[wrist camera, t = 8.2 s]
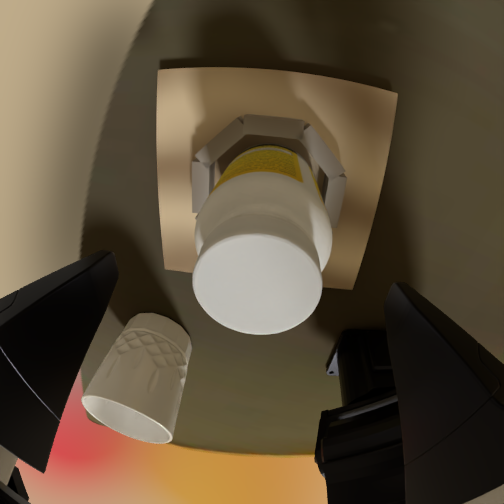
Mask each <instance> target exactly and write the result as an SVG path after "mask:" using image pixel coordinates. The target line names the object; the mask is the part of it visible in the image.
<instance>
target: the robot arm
mask: <svg viewBox="0 0 504 504" xmlns="http://www.w3.org/2000/svg"><path fill="white" fill-rule="evenodd" d="M118 275H119V273H118V268H117V263H116V258H115V254H114V253H113V252H112V251H107V250H101V251H99V252H97V253H94V254H92V255H90V256H88V257H85V258H83V259H81V260H79V261H76V262H74V263H72V264H70V265H68V266H66V267H64V268H61V269H59V270H57V271H55V272H53V273H51V274H49V275H47V276H45V277H43V278H41V279H39V280H37V281H34V282H32V283H30V284H28V285H26V286H24V287H23V288H21V289H19V290H17V291H15V292H13V293H11V294H9V295H7V296H5V297H3V298H1V299H0V504H31V503H29V502H28V500H29V497H28V494H27V492H26V489H25V486H24V484H23V481H22V478H21V475H20V472H19V469H18V468H17V467H16V466H15V464H16V461H17V459H18V458H19V459H21V460H22V461H24V462H25V463H27V464H29V465H30V466H32V467H33V468H35V469H36V470H38V471H40V472H42V473H44V472H45V470H46V466H47V462H48V459H49V455H50V452H51V448H52V445H53V442H54V438H55V435H56V432H57V429H58V426H59V423H60V421H59V420H61V417H62V413H63V411H64V408H65V405H66V403H67V400H68V397H69V395H70V392H71V389H72V387H73V384H74V382H75V379H76V377H77V374H78V372H79V370H80V367H81V365H82V362H83V360H84V358H85V355H86V353H87V351H88V349H89V346H90V344H91V342H92V340H93V338H94V335H95V333H96V331H97V329H98V327H99V325H100V323H101V321H102V318H103V316H104V314H105V311H106V309H107V306H108V303H109V301H110V298H111V295H112V293H113V290H114V288H115V285H116V283H117V280H118ZM384 314H385V322H386V330H387V331H376V330H352V329H347V330H345V331H343V332H342V334H341V337H340V339H339V342H338V344H337V346H336V349H335V351H334V354H333V356H332V358H331V360H330V363H329V365H328V367H327V369H326V372H327V375H335V376H339V380H340V388H341V397H342V406H343V407H339V408H336V409H332V410H325V411H322V412H321V419H320V422H319V429H318V436H317V442H316V449H315V458H314V459H315V462H316V463H317V464H318V468H319V471H320V472H321V474H322V476H323V477H325V480H326V486H327V498H328V504H504V364H503V363H502V362H500V361H499V360H498V359H497V358H496V357H494V356H493V355H492V354H491V353H490V352H489V351H488V350H486V349H485V348H484V347H483V346H482V345H481V344H480V343H478V342H477V341H476V340H475V339H474V338H473V337H472V336H470V335H469V334H468V333H467V332H466V331H465V330H463V329H462V328H461V327H460V326H459V325H458V324H456V323H455V322H454V321H453V320H452V319H450V318H449V317H448V316H447V315H446V314H444V313H443V312H442V311H441V310H439V309H438V308H437V307H436V306H434V305H433V304H432V303H431V302H429V301H428V300H427V299H426V298H424V297H423V296H422V295H421V294H419V293H418V292H417V291H415V290H414V289H413V288H412V287H410V286H409V285H408V284H406V283H404V282H394V283H393V284H392V286H391V288H390V290H389V293H388V295H387V297H386V300H385V303H384Z"/></svg>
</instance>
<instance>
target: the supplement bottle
mask: <svg viewBox="0 0 504 504" xmlns="http://www.w3.org/2000/svg"><path fill="white" fill-rule="evenodd" d="M194 236H195V246H196V250H197V254H198V258H197V261H196V263H195V266H194V269H193V276H192V282H193V289H194V292H195V296H196V298H197V300H198V302H199V303H200V305H201V306H202V308H203V309H204V310H205V311H206V312H207V313H208V314H209V315H210V316H211V317H212V318H213V319H215V320H216V321H217V322H219V323H220V324H222V325H224V326H226V327H228V328H230V329H233V330H236V331H239V332H243V333H248V334H256V335H262V334H274V333H279V332H283V331H286V330H288V329H291V328H293V327H295V326H297V325H298V324H300V323H301V322H303V321H304V320H306V319H307V318H308V317H309V316H310V315H311V314H312V312H313V311H314V310H315V308H316V306H317V304H318V302H319V300H320V297H321V293H322V274H321V272H322V271H323V269H324V268H325V266H326V264H327V262H328V259H329V257H330V253H331V248H332V228H331V224H330V219H329V216H328V213H327V210H326V207H325V205H324V202H323V199H322V196H321V194H320V190H319V188H318V185H317V182H316V180H315V177H314V174H313V172H312V170H311V168H310V166H309V165H308V163H307V162H306V161H305V159H304V158H303V157H302V156H301V155H300V154H299V153H297V152H296V151H294V150H292V149H291V148H289V147H286V146H283V145H280V144H274V143H264V144H258V145H254V146H252V147H249V148H247V149H245V150H244V151H242V152H241V153H240V154H238V155H237V156H236V157H235V158H234V159H233V160H232V162H231V163H230V164H229V166H228V167H227V169H226V170H225V171H224V173H223V174H222V176H221V178H220V179H219V181H218V182H217V184H216V185H215V187H214V188H213V190H212V192H211V193H210V195H209V196H208V198H207V199H206V201H205V202H204V204H203V206H202V208H201V210H200V212H199V215H198V217H197V221H196V226H195V234H194Z"/></svg>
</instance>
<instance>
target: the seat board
mask: <svg viewBox="0 0 504 504" xmlns="http://www.w3.org/2000/svg"><path fill="white" fill-rule="evenodd" d="M397 97H398V93H394V92H391V91H387V90H384V89H380V88H376V87H372V86H368V85H364V84H360V83H356V82H351V81H346V80H341V79H336V78H331V77H325V76H319V75H313V74H306V73H298V72H290V71H281V70H270V69H256V68H234V67H200V68H177V69H164V70H158V84H157V172H158V194H159V210H160V223H161V235H162V245H163V255H164V264H165V269H168V270H175V271H183V272H191V273H193V269H194V266H195V263H196V261H197V258H198V254H197V250H196V246H195V236H194V234H195V226H196V221H197V217H198V215H199V212H200V210H201V208H202V206H203V204H204V202H205V201H206V199H207V198H208V196H209V195H210V193H211V192H212V190H213V188H214V187H215V185H216V184H217V182H218V181H219V179H220V178H221V176H222V174H223V173H224V171H225V170H226V169H227V167H228V166H229V164H230V163H231V162H232V160H233V159H234V158H235V157H236V156H237V155H238V154H240V153H241V152H242V151H244V150H245V149H247V148H249V147H252V146H254V145H258V144H264V143H274V144H280V145H283V146H286V147H289V148H291V149H292V150H294V151H296V152H297V153H299V154H300V155H301V156H302V157H303V158H304V159H305V161H306V162H307V163H308V165H309V166H310V168H311V170H312V172H313V174H314V177H315V180H316V182H317V185H318V188H319V190H320V194H321V196H322V199H323V202H324V205H325V207H326V210H327V213H328V216H329V219H330V224H331V228H332V248H331V253H330V257H329V259H328V262H327V264H326V266H325V268H324V269H323V271H322V272H321V274H322V287H326V288H337V289H348V290H352V289H353V286H354V283H355V280H356V277H357V274H358V271H359V268H360V265H361V262H362V258H363V255H364V252H365V248H366V245H367V242H368V238H369V234H370V231H371V227H372V224H373V220H374V216H375V212H376V208H377V204H378V200H379V196H380V192H381V187H382V183H383V178H384V174H385V169H386V164H387V159H388V154H389V149H390V143H391V137H392V131H393V125H394V119H395V112H396V105H397Z"/></svg>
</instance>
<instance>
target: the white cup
mask: <svg viewBox="0 0 504 504" xmlns="http://www.w3.org/2000/svg"><path fill="white" fill-rule="evenodd" d="M191 350H192V345H191V340H190V336H189V335H188V334H187V333H186V331H185V330H184V329H183V328H182V327H181V326H180V325H179V324H177V323H176V322H174V321H173V320H171V319H169V318H168V317H165V316H162V315H158V314H155V313H139V314H137V315H136V316H134V317H133V318H131V319H130V320H129V322H128V323H127V325H126V327H125V328H124V330H123V332H122V333H121V335H120V336H119V337H118V338H117V340H116V341H115V342H114V344H113V346H112V347H111V349H110V351H109V352H108V353H107V355H106V356H105V358H104V360H103V361H102V363H101V365H100V366H99V368H98V370H97V372H96V373H95V375H94V377H93V379H92V380H91V382H90V384H89V386H88V387H87V389H86V391H85V393H84V394H83V396H82V399H81V401H82V404H83V406H84V407H85V408H86V410H87V411H88V412H89V413H90V414H91V415H92V416H94V417H95V418H96V419H97V420H99V421H100V422H102V423H103V424H105V425H106V426H108V427H110V428H111V429H113V430H115V431H117V432H119V433H122V434H124V435H126V436H129V437H131V438H134V439H137V440H141V441H145V442H150V443H159V444H160V443H161V444H162V443H168V442H170V441H171V440H172V438H173V433H174V429H175V424H176V419H177V415H178V411H179V406H180V402H181V398H182V393H183V388H184V383H185V379H186V374H187V365H188V362H189V358H190V354H191Z"/></svg>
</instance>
